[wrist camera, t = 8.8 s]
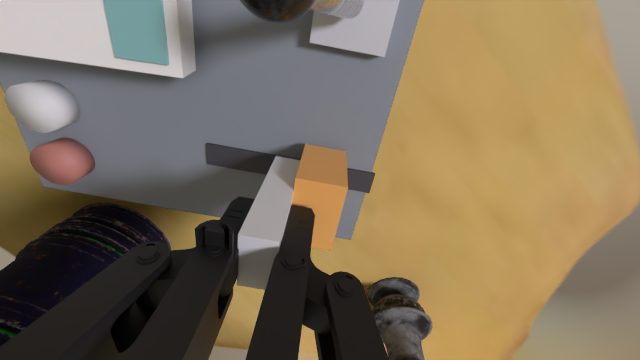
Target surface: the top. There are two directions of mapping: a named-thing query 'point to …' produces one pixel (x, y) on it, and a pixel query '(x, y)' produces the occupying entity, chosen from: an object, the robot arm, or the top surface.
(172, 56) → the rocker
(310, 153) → the slider
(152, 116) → the panel
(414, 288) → the chess piece
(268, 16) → the toggle
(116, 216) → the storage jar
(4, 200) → the top surface
